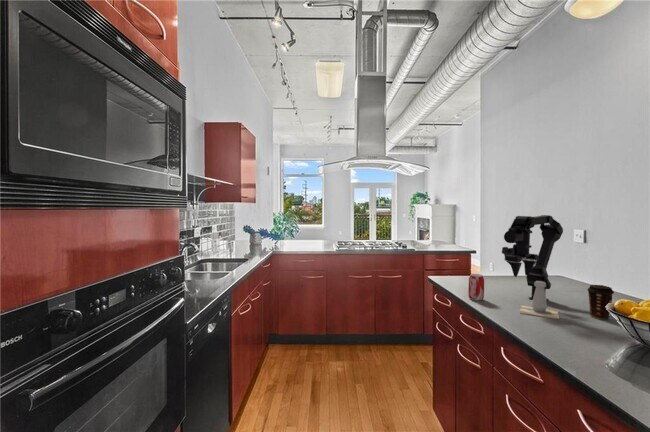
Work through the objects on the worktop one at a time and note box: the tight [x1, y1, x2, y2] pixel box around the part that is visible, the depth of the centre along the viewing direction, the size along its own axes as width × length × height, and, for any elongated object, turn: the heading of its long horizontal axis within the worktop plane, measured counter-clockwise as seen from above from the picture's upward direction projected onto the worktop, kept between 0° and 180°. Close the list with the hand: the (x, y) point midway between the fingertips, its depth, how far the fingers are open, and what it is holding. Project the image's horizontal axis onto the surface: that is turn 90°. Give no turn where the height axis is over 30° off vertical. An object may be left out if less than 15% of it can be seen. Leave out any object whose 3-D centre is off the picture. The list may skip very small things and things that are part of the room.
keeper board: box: [519, 304, 560, 320], centre depth 152 cm, size 14×14×1 cm
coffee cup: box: [587, 284, 615, 320], centre depth 146 cm, size 9×8×13 cm
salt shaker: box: [530, 281, 548, 313], centre depth 152 cm, size 6×6×13 cm
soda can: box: [467, 273, 485, 302], centre depth 171 cm, size 7×7×12 cm
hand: (521, 275), depth 165 cm, fingers open, 9 cm apart
